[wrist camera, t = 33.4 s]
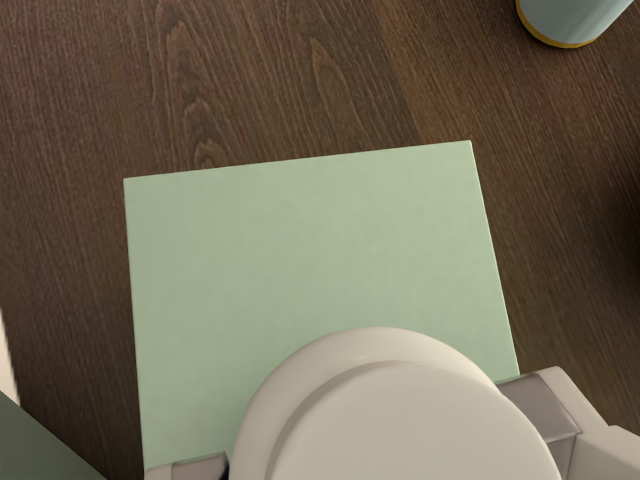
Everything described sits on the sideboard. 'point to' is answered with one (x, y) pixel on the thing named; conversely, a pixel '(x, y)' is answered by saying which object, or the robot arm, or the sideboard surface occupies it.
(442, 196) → the mini fridge
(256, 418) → the pill bottle
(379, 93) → the sideboard surface
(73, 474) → the fridge door
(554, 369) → the robot arm
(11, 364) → the sideboard surface
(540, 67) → the sideboard surface
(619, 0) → the bottle
